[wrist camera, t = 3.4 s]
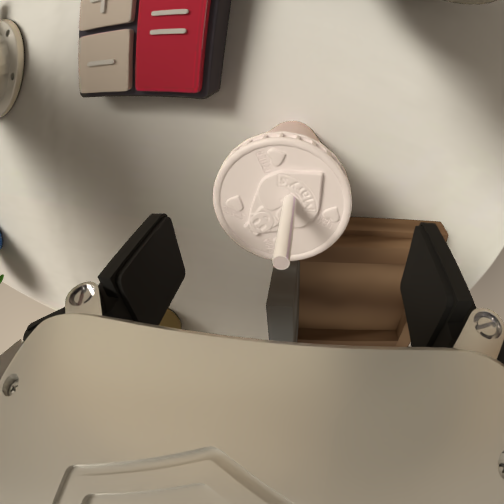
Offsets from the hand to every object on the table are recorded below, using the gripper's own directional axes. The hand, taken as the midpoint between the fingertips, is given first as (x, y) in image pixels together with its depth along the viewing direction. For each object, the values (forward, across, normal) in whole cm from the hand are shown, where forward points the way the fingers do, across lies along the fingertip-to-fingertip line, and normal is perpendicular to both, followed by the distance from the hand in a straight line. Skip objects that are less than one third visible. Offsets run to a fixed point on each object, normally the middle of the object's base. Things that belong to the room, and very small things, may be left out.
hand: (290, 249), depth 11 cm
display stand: (+13, -5, +13) cm, 19 cm away
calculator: (+13, +10, -13) cm, 21 cm away
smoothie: (+13, +1, 0) cm, 13 cm away
